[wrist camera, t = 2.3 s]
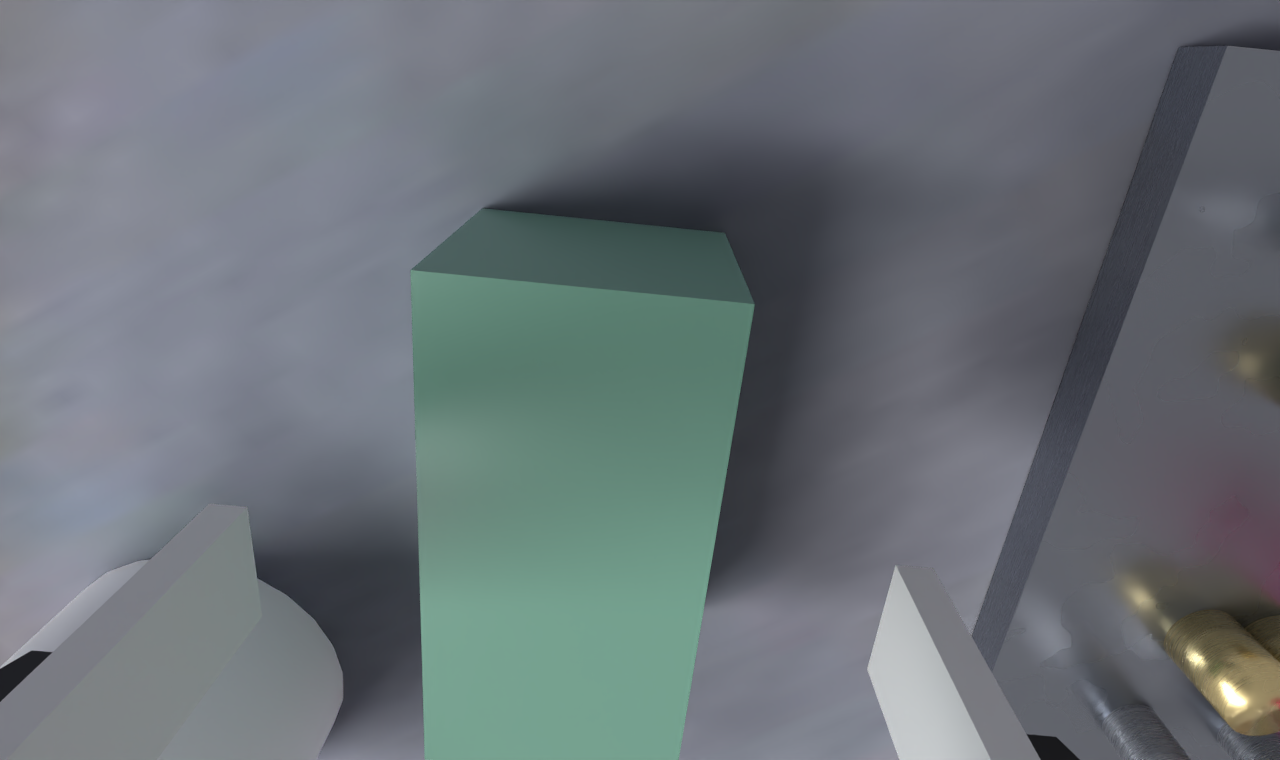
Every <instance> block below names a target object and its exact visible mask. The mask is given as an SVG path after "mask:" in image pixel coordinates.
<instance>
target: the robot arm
mask: <svg viewBox="0 0 1280 760" xmlns="http://www.w3.org/2000/svg"><path fill="white" fill-rule="evenodd" d="M261 617H262V611H261V603H260V596H259V589H258V581H257V574H256V566H255V559H254V552H253V544H252V537H251V529H250V522H249V515H248V507H242V506H231V505H219V504H208V505H207V506H206V507H205V508H204V509H203V510H202V511H201V512H200V513H199V514H198V515H197V516H196V517H194V518H193V519H192V520H191V521H190V522H189V523H188V524H187V525H186V526H185V527H184V528H183V529H182V530H181V531H180V532H179V533H178V534H177V535H176V536H174V537H173V538H172V539H171V540H170V541H169V542H168V543H167V544H166V545H165V546H164V547H163V548H162V549H161V550H160V551H159V552H158V553H157V554H156V555H154V556H153V557H152V558H151V559H150V560H149V561H148V562H147V563H146V564H145V565H144V566H143V567H142V568H141V569H140V570H139V571H138V572H137V573H136V574H134V575H133V576H132V577H131V578H130V579H129V580H128V581H127V582H126V583H125V584H124V585H123V586H122V587H121V588H120V589H119V590H118V591H117V592H115V593H114V594H113V595H112V596H111V597H110V598H109V599H108V600H107V601H106V602H105V603H104V604H103V605H102V606H101V607H100V608H99V609H98V610H97V611H95V612H94V613H93V614H92V615H91V616H90V617H89V618H88V619H87V620H86V621H85V622H84V623H83V624H82V625H81V626H80V627H79V628H78V629H77V630H75V631H74V632H73V633H72V634H71V635H70V636H69V637H68V638H67V639H66V640H65V641H64V642H63V643H62V644H61V645H60V646H59V647H58V648H57V649H55V650H54V651H53V652H44V651H33V650H32V651H30V652H28V653H26V654H25V655H23V656H21V657H19V658H18V659H16V660H14V661H13V662H11V663H9V664H7V665H6V666H4V667H2V668H0V760H157V759H158V758H159V756H160V755H161V754H162V752H163V751H164V750H165V748H166V747H167V745H168V744H169V743H170V741H171V740H172V739H173V737H174V736H175V735H176V733H177V732H178V730H179V729H180V728H181V726H182V725H183V724H184V722H185V721H186V720H187V718H188V717H189V715H190V714H191V713H192V711H193V710H194V709H195V707H196V706H197V705H198V703H199V702H200V701H201V699H202V698H203V696H204V695H205V694H206V692H207V691H208V690H209V688H210V687H211V686H212V684H213V683H214V681H215V680H216V679H217V677H218V676H219V675H220V673H221V672H222V671H223V669H224V668H225V666H226V665H227V664H228V662H229V661H230V660H231V658H232V657H233V656H234V654H235V653H236V651H237V650H238V649H239V647H240V646H241V645H242V643H243V642H244V641H245V639H246V638H247V636H248V635H249V634H250V632H251V631H252V630H253V628H254V627H255V626H256V624H257V623H258V621H259V620H260V619H261ZM867 670H868V672H869V675H870V678H871V681H872V684H873V687H874V689H875V692H876V695H877V698H878V701H879V703H880V706H881V709H882V712H883V715H884V718H885V720H886V723H887V726H888V729H889V732H890V734H891V737H892V740H893V743H894V746H895V749H896V751H897V754H898V757H899V760H1080V759H1079V758H1078V757H1077V756H1076V755H1075V754H1074V753H1073V752H1072V751H1071V750H1069V749H1068V748H1067V747H1066V746H1065V745H1064V744H1063V743H1062V742H1061V741H1060V740H1059V739H1058V738H1057V737H1053V736H1042V735H1030V734H1026V733H1025V731H1024V729H1023V727H1022V726H1021V724H1020V722H1019V720H1018V718H1017V717H1016V715H1015V713H1014V711H1013V710H1012V708H1011V706H1010V704H1009V702H1008V701H1007V699H1006V697H1005V695H1004V694H1003V692H1002V690H1001V688H1000V686H999V685H998V683H997V681H996V679H995V678H994V676H993V674H992V672H991V670H990V669H989V667H988V665H987V663H986V662H985V660H984V658H983V656H982V654H981V653H980V651H979V649H978V647H977V645H976V644H975V642H974V640H973V638H972V637H971V635H970V633H969V631H968V629H967V628H966V626H965V624H964V622H963V621H962V619H961V617H960V615H959V613H958V612H957V610H956V608H955V606H954V605H953V603H952V601H951V599H950V597H949V596H948V594H947V592H946V590H945V589H944V587H943V585H942V583H941V581H940V580H939V578H938V576H937V574H936V573H935V571H934V569H933V568H925V567H914V566H903V565H896V566H895V569H894V573H893V577H892V580H891V584H890V588H889V591H888V595H887V599H886V602H885V606H884V610H883V613H882V617H881V621H880V624H879V628H878V632H877V635H876V639H875V643H874V646H873V650H872V654H871V657H870V661H869V665H868V668H867Z"/></svg>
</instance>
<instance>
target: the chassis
mask: <svg viewBox="0 0 1280 760" xmlns="http://www.w3.org/2000/svg"><path fill="white" fill-rule="evenodd" d="M972 638H973V640H974V642H975V644H976V645H977V647H978V649H979V651H980V653H981V654H982V656H983V658H984V660H985V662H986V663H987V665H988V667H989V669H990V670H991V672H992V674H993V676H994V678H995V679H996V681H997V683H998V685H999V686H1000V688H1001V690H1002V692H1003V694H1004V695H1005V697H1006V699H1007V701H1008V702H1009V704H1010V706H1011V708H1012V710H1013V711H1014V713H1015V715H1016V717H1017V718H1018V720H1019V722H1020V724H1021V726H1022V727H1023V729H1024V731H1025V733H1026V734H1030V735H1042V736H1053V737H1057V738H1058V739H1059V740H1060V741H1061V742H1062V743H1063V744H1064V745H1065V746H1066V747H1067V748H1068V749H1069V750H1071V751H1072V752H1073V753H1074V754H1075V755H1076V756H1077V757H1078V758H1079V759H1080V760H1280V51H1276V50H1266V49H1256V48H1246V47H1236V46H1197V47H1179V48H1178V51H1177V54H1176V57H1175V60H1174V62H1173V65H1172V68H1171V71H1170V74H1169V77H1168V79H1167V82H1166V85H1165V88H1164V91H1163V94H1162V97H1161V99H1160V102H1159V105H1158V108H1157V111H1156V114H1155V116H1154V119H1153V122H1152V125H1151V128H1150V131H1149V134H1148V136H1147V139H1146V142H1145V145H1144V148H1143V151H1142V153H1141V156H1140V159H1139V162H1138V165H1137V168H1136V171H1135V173H1134V176H1133V179H1132V182H1131V185H1130V188H1129V190H1128V193H1127V196H1126V199H1125V202H1124V205H1123V208H1122V210H1121V213H1120V216H1119V219H1118V222H1117V225H1116V228H1115V230H1114V233H1113V236H1112V239H1111V242H1110V245H1109V247H1108V250H1107V253H1106V256H1105V259H1104V262H1103V265H1102V267H1101V270H1100V273H1099V276H1098V279H1097V282H1096V284H1095V287H1094V290H1093V293H1092V296H1091V299H1090V302H1089V304H1088V307H1087V310H1086V313H1085V316H1084V319H1083V321H1082V324H1081V327H1080V330H1079V333H1078V336H1077V339H1076V341H1075V344H1074V347H1073V350H1072V353H1071V356H1070V358H1069V361H1068V364H1067V367H1066V370H1065V373H1064V376H1063V378H1062V381H1061V384H1060V387H1059V390H1058V393H1057V395H1056V398H1055V401H1054V404H1053V407H1052V410H1051V413H1050V415H1049V418H1048V421H1047V424H1046V427H1045V430H1044V433H1043V435H1042V438H1041V441H1040V444H1039V447H1038V450H1037V452H1036V455H1035V458H1034V461H1033V464H1032V467H1031V470H1030V472H1029V475H1028V478H1027V481H1026V484H1025V487H1024V489H1023V492H1022V495H1021V498H1020V501H1019V504H1018V507H1017V509H1016V512H1015V515H1014V518H1013V521H1012V524H1011V526H1010V529H1009V532H1008V535H1007V538H1006V541H1005V544H1004V546H1003V549H1002V552H1001V555H1000V558H999V561H998V563H997V566H996V569H995V572H994V575H993V578H992V581H991V583H990V586H989V589H988V592H987V595H986V598H985V600H984V603H983V606H982V609H981V612H980V615H979V618H978V620H977V623H976V626H975V629H974V632H973V635H972Z"/></svg>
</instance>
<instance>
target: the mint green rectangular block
mask: <svg viewBox="0 0 1280 760" xmlns="http://www.w3.org/2000/svg"><path fill="white" fill-rule="evenodd" d="M411 301H412V335H413V370H414V405H415V439H416V474H417V508H418V543H419V577H420V612H421V646H422V681H423V715H424V750H425V760H679V754H680V748H681V742H682V736H683V730H684V724H685V718H686V712H687V706H688V700H689V694H690V688H691V682H692V676H693V670H694V664H695V658H696V652H697V646H698V640H699V634H700V628H701V623H702V617H703V611H704V605H705V599H706V593H707V587H708V581H709V575H710V569H711V563H712V557H713V551H714V545H715V539H716V533H717V527H718V521H719V515H720V509H721V503H722V497H723V491H724V485H725V479H726V473H727V467H728V461H729V455H730V449H731V443H732V437H733V432H734V426H735V420H736V414H737V408H738V402H739V396H740V390H741V384H742V378H743V372H744V366H745V360H746V354H747V348H748V342H749V336H750V330H751V324H752V318H753V312H754V306H755V303H754V301H753V299H752V296H751V294H750V291H749V289H748V287H747V284H746V282H745V280H744V277H743V275H742V273H741V270H740V268H739V265H738V263H737V261H736V258H735V256H734V254H733V251H732V249H731V247H730V244H729V242H728V239H727V237H726V235H725V233H722V232H712V231H702V230H692V229H682V228H672V227H662V226H652V225H642V224H633V223H623V222H613V221H603V220H593V219H583V218H573V217H563V216H553V215H544V214H534V213H524V212H514V211H504V210H494V209H484V208H482V209H481V210H480V211H479V212H478V213H477V214H475V215H474V216H473V217H472V218H471V219H470V220H468V221H467V222H466V223H465V224H464V225H463V226H461V227H460V228H459V229H458V230H457V231H456V232H454V233H453V234H452V235H451V236H450V237H449V238H447V239H446V240H445V241H444V242H443V243H442V244H440V245H439V246H438V247H437V248H436V249H435V250H433V251H432V252H431V253H430V254H429V255H428V256H427V257H425V258H424V259H423V260H422V261H421V262H420V263H418V264H417V265H416V266H415V267H414V268H413V269H411Z"/></svg>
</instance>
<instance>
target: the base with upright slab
mask: <svg viewBox="0 0 1280 760" xmlns="http://www.w3.org/2000/svg"><path fill="white" fill-rule="evenodd" d="M148 561H149V560H140V561H137V562H134V563H131V564H128V565H125V566H122V567H119V568H116V569H114V570H111V571H108V572H106V573H105V574H104V575H103V576H101V577H100V578H99V579H97V580H96V581H95V582H93V583H92V584H91V585H89V586H88V587H87V588H85V589H84V590H83V591H82V592H81V593H80V594H79V595H78V596H76V597H75V598H74V599H73V600H72V601H71V602H70V603H69V604H68V605H67V606H66V607H65V608H63V609H62V610H61V611H60V612H59V613H58V614H57V615H56V616H55V617H54V618H53V619H52V620H51V621H49V622H48V623H47V624H46V625H45V626H44V627H43V628H42V629H41V630H40V631H39V632H38V633H37V634H35V635H34V636H33V637H32V638H31V639H30V640H29V641H28V642H27V643H26V644H25V645H24V646H22V647H21V648H20V649H19V650H18V651H17V652H16V653H15V654H14V655H13V656H12V657H11V658H10V659H8V660H7V661H6V662H5V663H4V664H3V665H2V666H1V667H0V668H2V667H4V666H6V665H7V664H9V663H11V662H13V661H14V660H16V659H18V658H19V657H21V656H23V655H25V654H26V653H28V652H30V651H32V650H33V651H44V652H53V651H54V650H55V649H57V648H58V647H59V646H60V645H61V644H62V643H63V642H64V641H65V640H66V639H67V638H68V637H69V636H70V635H71V634H72V633H73V632H74V631H75V630H77V629H78V628H79V627H80V626H81V625H82V624H83V623H84V622H85V621H86V620H87V619H88V618H89V617H90V616H91V615H92V614H93V613H94V612H95V611H97V610H98V609H99V608H100V607H101V606H102V605H103V604H104V603H105V602H106V601H107V600H108V599H109V598H110V597H111V596H112V595H113V594H114V593H115V592H117V591H118V590H119V589H120V588H121V587H122V586H123V585H124V584H125V583H126V582H127V581H128V580H129V579H130V578H131V577H132V576H133V575H134V574H136V573H137V572H138V571H139V570H140V569H141V568H142V567H143V566H144V565H145V564H146V563H147V562H148ZM257 581H258V589H259V596H260V603H261V611H262V617H261V619H260V620H259V621H258V623H257V624H256V626H255V627H254V628H253V630H252V631H251V632H250V634H249V635H248V636H247V638H246V639H245V641H244V642H243V643H242V645H241V646H240V647H239V649H238V650H237V651H236V653H235V654H234V656H233V657H232V658H231V660H230V661H229V662H228V664H227V665H226V666H225V668H224V669H223V671H222V672H221V673H220V675H219V676H218V677H217V679H216V680H215V681H214V683H213V684H212V686H211V687H210V688H209V690H208V691H207V692H206V694H205V695H204V696H203V698H202V699H201V701H200V702H199V703H198V705H197V706H196V707H195V709H194V710H193V711H192V713H191V714H190V715H189V717H188V718H187V720H186V721H185V722H184V724H183V725H182V726H181V728H180V729H179V730H178V732H177V733H176V735H175V736H174V737H173V739H172V740H171V741H170V743H169V744H168V745H167V747H166V748H165V750H164V751H163V752H162V754H161V755H160V756H159V758H158V759H157V760H317V758H318V756H319V754H320V751H321V749H322V747H323V745H324V743H325V741H326V739H327V737H328V735H329V733H330V731H331V729H332V727H333V725H334V722H335V720H336V717H337V714H338V712H339V709H340V706H341V704H342V701H343V672H342V669H341V666H340V664H339V661H338V658H337V655H336V652H335V650H334V647H333V645H332V643H331V642H330V641H329V639H328V638H327V636H326V635H325V634H324V632H323V631H322V629H321V628H320V627H319V625H318V624H317V622H316V621H315V620H314V619H313V618H312V617H311V616H310V615H309V614H308V613H307V612H305V611H304V610H303V609H302V608H301V607H300V606H299V605H297V604H296V603H295V602H294V601H293V600H292V599H291V598H290V597H288V596H287V595H286V594H284V593H282V592H281V591H279V590H277V589H275V588H273V587H272V586H270V585H268V584H266V583H265V582H263V581H261V580H259V579H258V578H257Z"/></svg>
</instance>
